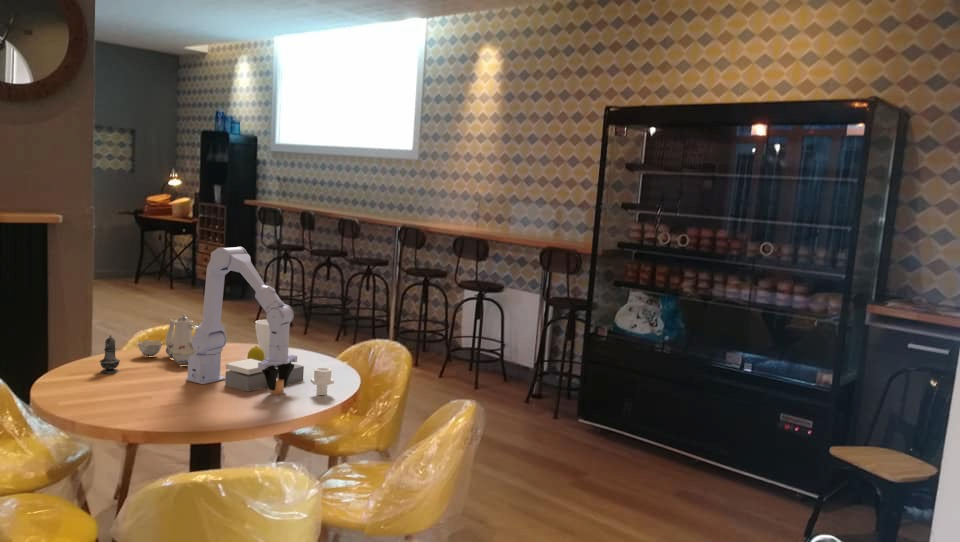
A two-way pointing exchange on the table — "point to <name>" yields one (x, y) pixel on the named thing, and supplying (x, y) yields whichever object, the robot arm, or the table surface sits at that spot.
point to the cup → (263, 336)
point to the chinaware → (173, 341)
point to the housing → (258, 378)
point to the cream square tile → (244, 366)
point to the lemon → (256, 354)
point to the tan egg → (278, 387)
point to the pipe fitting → (322, 380)
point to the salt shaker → (109, 357)
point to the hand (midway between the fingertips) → (276, 388)
